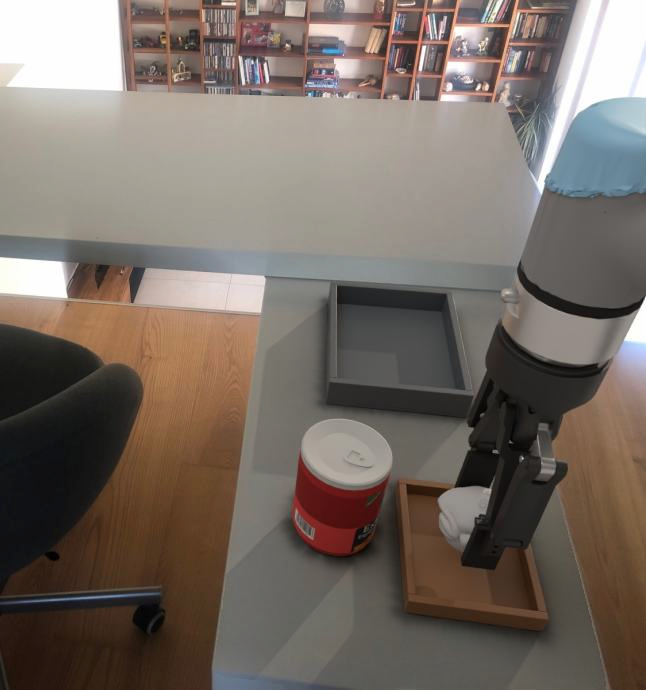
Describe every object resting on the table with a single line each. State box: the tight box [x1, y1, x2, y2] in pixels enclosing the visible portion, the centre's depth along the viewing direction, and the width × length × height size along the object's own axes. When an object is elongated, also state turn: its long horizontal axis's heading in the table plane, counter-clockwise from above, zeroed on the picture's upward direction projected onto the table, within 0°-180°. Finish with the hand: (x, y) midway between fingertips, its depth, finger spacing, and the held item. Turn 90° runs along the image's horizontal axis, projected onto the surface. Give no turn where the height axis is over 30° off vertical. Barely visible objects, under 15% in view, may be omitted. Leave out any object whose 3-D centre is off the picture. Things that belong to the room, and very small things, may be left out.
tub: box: [325, 281, 475, 419], centre depth 85 cm, size 20×16×4 cm
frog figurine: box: [438, 486, 492, 552], centre depth 61 cm, size 6×7×7 cm
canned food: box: [291, 418, 394, 557], centre depth 64 cm, size 8×8×11 cm
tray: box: [394, 477, 550, 632], centre depth 64 cm, size 13×11×2 cm
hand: (471, 530), depth 62 cm, fingers closed on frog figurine, 6 cm apart
